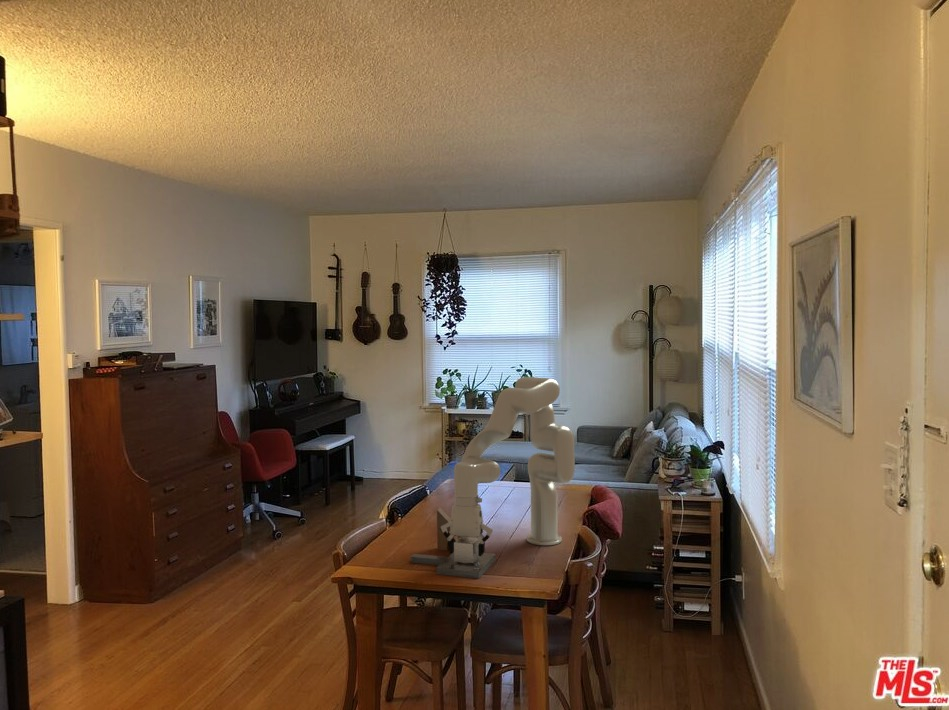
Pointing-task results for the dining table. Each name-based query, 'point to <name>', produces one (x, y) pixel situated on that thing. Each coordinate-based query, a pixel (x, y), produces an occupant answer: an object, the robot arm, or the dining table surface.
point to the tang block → (456, 564)
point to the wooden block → (441, 539)
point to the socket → (466, 549)
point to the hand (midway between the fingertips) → (466, 553)
